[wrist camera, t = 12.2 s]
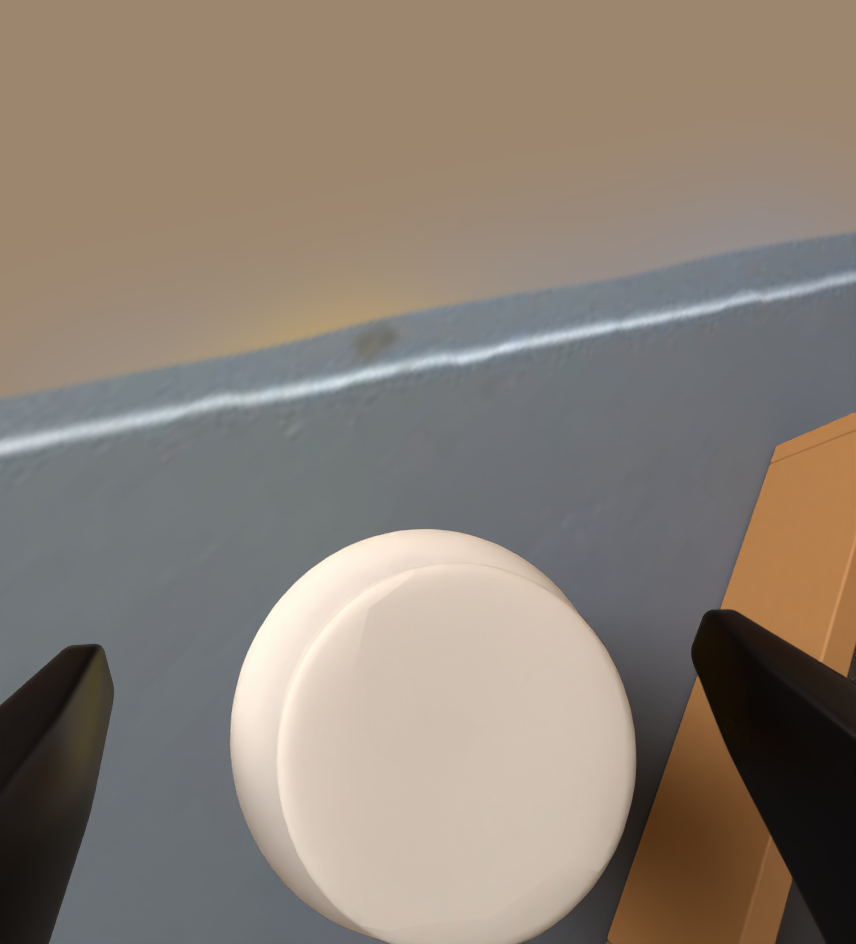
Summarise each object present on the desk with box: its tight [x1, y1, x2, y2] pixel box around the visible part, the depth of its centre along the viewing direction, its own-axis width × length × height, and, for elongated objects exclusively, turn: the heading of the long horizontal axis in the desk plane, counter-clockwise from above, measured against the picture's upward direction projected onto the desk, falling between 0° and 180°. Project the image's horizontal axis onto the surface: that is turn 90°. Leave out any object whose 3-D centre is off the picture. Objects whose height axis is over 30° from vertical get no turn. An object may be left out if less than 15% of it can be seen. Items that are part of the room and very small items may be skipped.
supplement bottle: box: [230, 529, 636, 944], centre depth 12 cm, size 6×6×10 cm
